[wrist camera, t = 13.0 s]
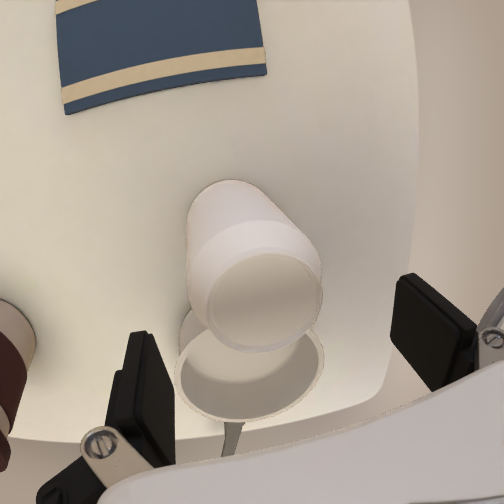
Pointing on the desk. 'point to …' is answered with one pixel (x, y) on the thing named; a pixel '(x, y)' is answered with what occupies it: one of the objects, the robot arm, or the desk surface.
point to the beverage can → (250, 269)
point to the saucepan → (242, 378)
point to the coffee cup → (12, 370)
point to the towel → (152, 46)
